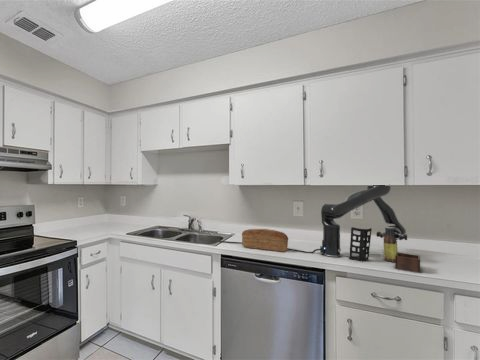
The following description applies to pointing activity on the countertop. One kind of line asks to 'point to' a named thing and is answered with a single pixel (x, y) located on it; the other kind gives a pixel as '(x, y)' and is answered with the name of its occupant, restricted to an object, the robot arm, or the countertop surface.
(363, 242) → the holder
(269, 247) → the bread
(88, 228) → the countertop surface
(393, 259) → the sauce bottle
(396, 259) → the wooden sleeve
